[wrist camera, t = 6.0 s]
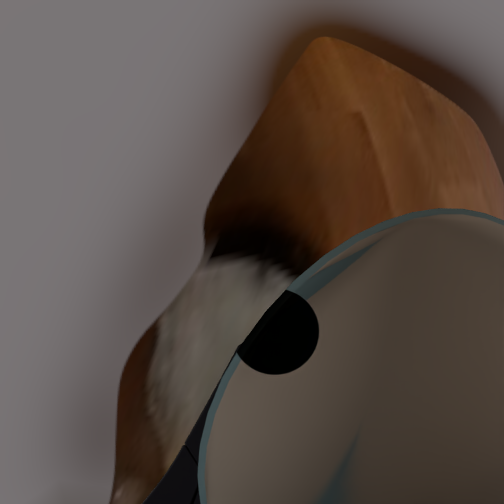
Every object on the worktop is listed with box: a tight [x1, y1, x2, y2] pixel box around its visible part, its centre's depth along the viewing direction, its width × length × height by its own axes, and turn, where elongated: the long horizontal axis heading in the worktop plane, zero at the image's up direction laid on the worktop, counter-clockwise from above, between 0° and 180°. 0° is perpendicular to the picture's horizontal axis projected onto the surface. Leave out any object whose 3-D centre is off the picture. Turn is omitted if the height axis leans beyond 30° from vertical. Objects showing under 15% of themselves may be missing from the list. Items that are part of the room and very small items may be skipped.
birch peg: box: [198, 208, 504, 504], centre depth 8 cm, size 4×4×14 cm
